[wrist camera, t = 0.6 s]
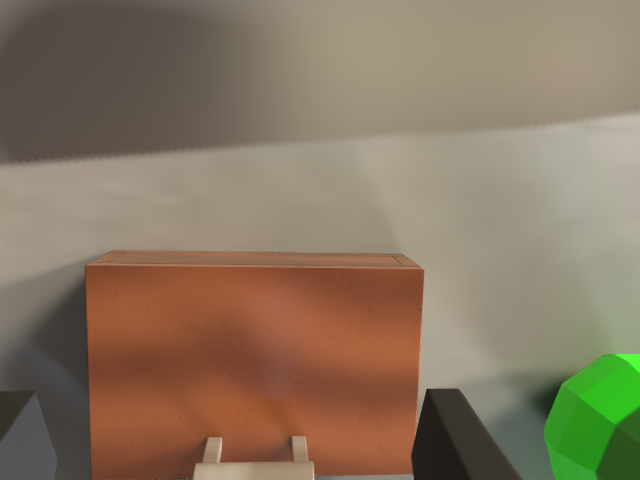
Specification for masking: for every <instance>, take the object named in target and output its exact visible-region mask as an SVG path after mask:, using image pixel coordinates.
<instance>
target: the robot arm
mask: <svg viewBox="0 0 640 480" xmlns="http://www.w3.org/2000/svg"><path fill="white" fill-rule="evenodd" d="M411 461H412V468H413V475H414V480H523V479H522V478H521V476H520V475H519V474H518V472H517V471H516V470H515V468H514V467H513V466H512V464H511V463H510V462H509V460H508V459H507V457H506V456H505V455H504V453H503V452H502V450H501V449H500V448H499V446H498V445H497V443H496V442H495V441H494V439H493V438H492V436H491V435H490V433H489V432H488V431H487V429H486V428H485V426H484V425H483V423H482V422H481V420H480V419H479V417H478V416H477V414H476V413H475V411H474V410H473V408H472V407H471V405H470V404H469V402H468V401H467V399H466V398H465V396H464V395H463V393H462V392H461V391H460V390H459V389H427V390H426V394H425V398H424V402H423V407H422V411H421V415H420V419H419V423H418V427H417V432H416V436H415V440H414V444H413V448H412V453H411ZM57 463H58V460H57V457H56V454H55V451H54V448H53V445H52V441H51V438H50V435H49V432H48V429H47V426H46V423H45V420H44V417H43V413H42V410H41V407H40V404H39V401H38V398H37V395H36V392H35V391H16V392H0V480H53V479H54V475H55V471H56V467H57Z"/></svg>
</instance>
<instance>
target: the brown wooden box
mask: <svg viewBox="0 0 640 480" xmlns="http://www.w3.org/2000/svg"><path fill="white" fill-rule="evenodd" d="M91 263H123V264H208V265H293V266H377V267H420V266H419V265H417V264H416V263H415V262H413V261H412V260H410V259H409V258H408V257H406V256H405V255H403V254H355V253H282V252H209V251H136V250H113V251H111V252H109V253H107V254H105V255H104V256H102V257H100V258H98V259H96V260H95V261H93V262H91Z"/></svg>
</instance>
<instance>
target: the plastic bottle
mask: <svg viewBox="0 0 640 480" xmlns="http://www.w3.org/2000/svg"><path fill="white" fill-rule="evenodd" d="M543 433H544V438H545V442H546V446H547V450H548V454H549V458H550V462H551V466H552V470H553V474H554V478H555V480H640V354H608V355H603V356H601V357H600V358H598V359H597V360H595V361H594V362H593V363H591V364H590V365H588V366H587V367H585V368H584V369H582V370H581V371H580V372H578V373H577V374H575V375H574V376H572V377H571V378H569V379H568V380H567V381H565V382H564V383H562V385H561V387H560V389H559V392H558V394H557V397H556V399H555V402H554V404H553V406H552V409H551V411H550V414H549V416H548V419H547V421H546V424H545V426H544V428H543Z"/></svg>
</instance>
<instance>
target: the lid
mask: <svg viewBox="0 0 640 480" xmlns="http://www.w3.org/2000/svg"><path fill="white" fill-rule="evenodd" d="M85 284H86V317H87V350H88V384H89V417H90V450H91V480H136V479H188V478H193V480H315V479H314V476H344V475H396V474H413V468H412V461H411V453H412V448H413V444H414V440H415V436H416V419H417V400H418V381H419V362H420V344H421V325H422V306H423V287H424V269H423V268H422V267H377V266H293V265H208V264H123V263H89V264H87V265H85Z"/></svg>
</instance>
